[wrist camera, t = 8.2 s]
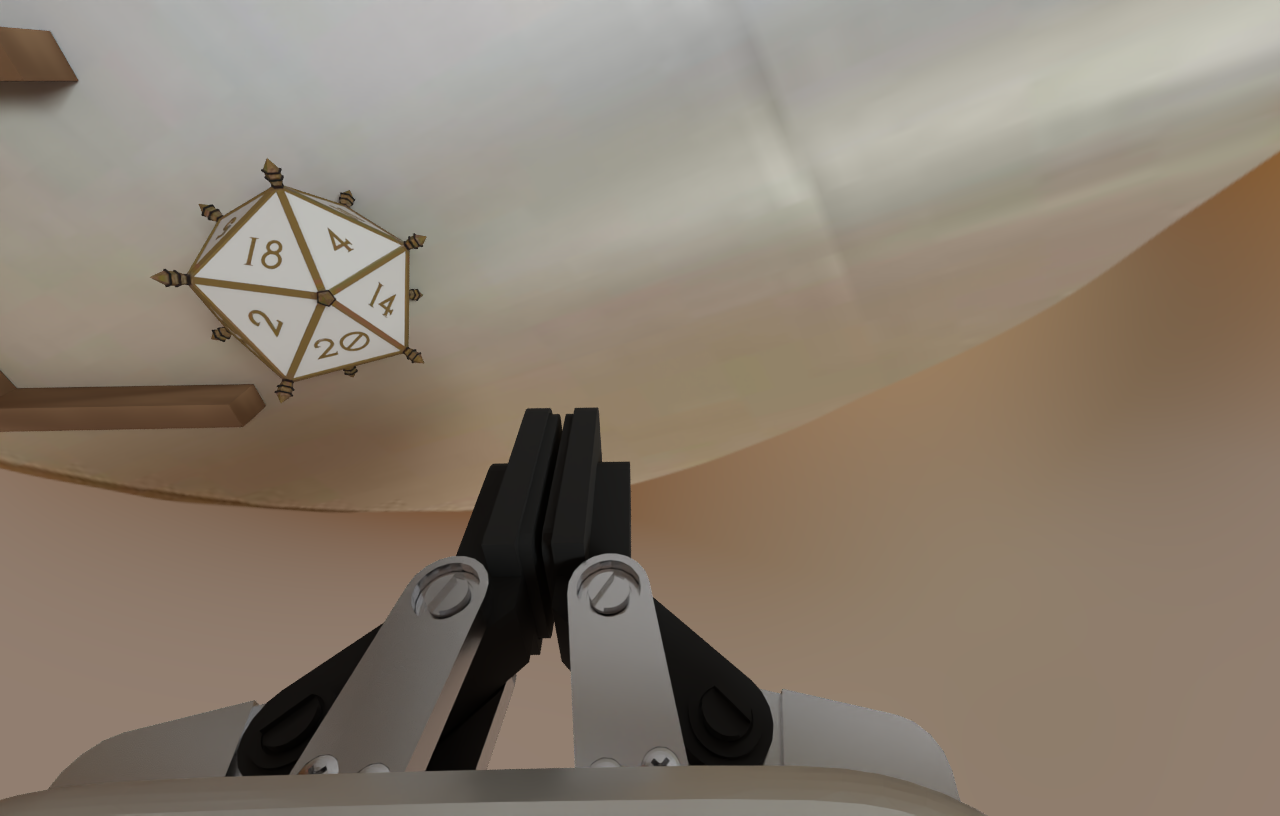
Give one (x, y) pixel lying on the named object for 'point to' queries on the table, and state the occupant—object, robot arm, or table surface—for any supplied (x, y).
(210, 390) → the frame
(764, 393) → the table surface
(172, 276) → the game die
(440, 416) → the table surface
